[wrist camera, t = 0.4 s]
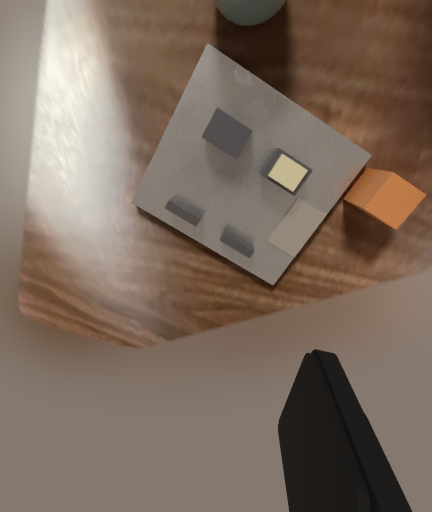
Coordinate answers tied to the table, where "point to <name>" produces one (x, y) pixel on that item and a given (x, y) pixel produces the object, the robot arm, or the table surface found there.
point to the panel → (245, 170)
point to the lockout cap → (384, 196)
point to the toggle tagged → (286, 171)
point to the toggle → (226, 133)
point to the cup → (249, 10)
